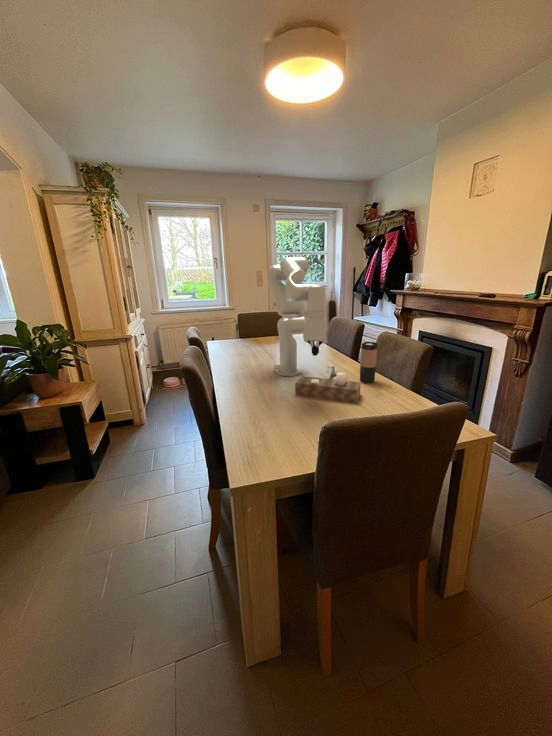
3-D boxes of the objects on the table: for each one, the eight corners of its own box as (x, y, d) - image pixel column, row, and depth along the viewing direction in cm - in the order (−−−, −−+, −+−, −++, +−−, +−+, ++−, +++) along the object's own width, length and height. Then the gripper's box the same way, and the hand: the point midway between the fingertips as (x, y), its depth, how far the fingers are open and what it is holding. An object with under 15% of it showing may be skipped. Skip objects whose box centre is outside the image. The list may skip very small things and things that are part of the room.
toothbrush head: (316, 381, 148) (327, 360, 169) (317, 393, 151) (327, 371, 172) (327, 382, 146) (336, 361, 167) (327, 394, 149) (336, 372, 170)
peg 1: (309, 392, 142) (309, 381, 141) (311, 389, 146) (312, 378, 144) (317, 393, 141) (318, 382, 139) (320, 390, 144) (320, 379, 143)
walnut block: (295, 394, 142) (295, 382, 140) (301, 387, 151) (301, 376, 149) (356, 403, 132) (357, 390, 130) (359, 394, 141) (360, 382, 139)
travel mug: (376, 383, 153) (379, 345, 147) (361, 384, 153) (363, 345, 147) (372, 378, 160) (375, 341, 154) (357, 378, 161) (359, 341, 155)
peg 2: (335, 386, 136) (335, 374, 135) (337, 383, 140) (337, 371, 138) (344, 387, 135) (344, 375, 133) (346, 384, 139) (346, 372, 137)
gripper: (296, 315, 132) (296, 355, 138) (331, 316, 126) (329, 358, 132) (302, 312, 138) (301, 351, 144) (334, 313, 133) (333, 354, 139)
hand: (315, 354), depth 138 cm, fingers closed
